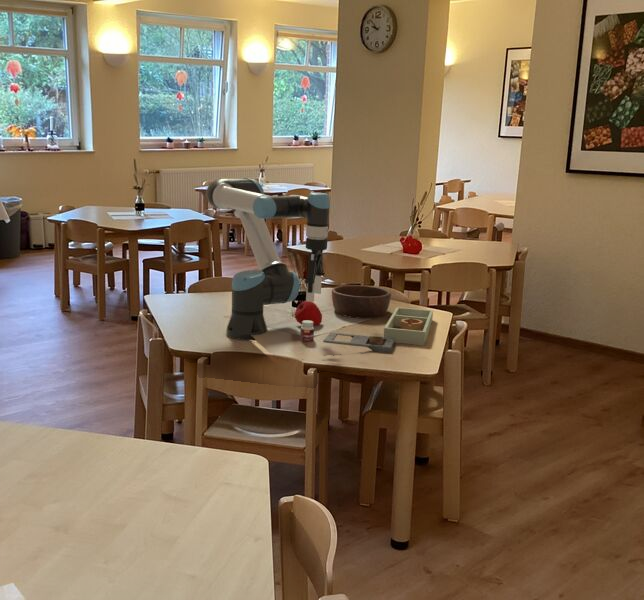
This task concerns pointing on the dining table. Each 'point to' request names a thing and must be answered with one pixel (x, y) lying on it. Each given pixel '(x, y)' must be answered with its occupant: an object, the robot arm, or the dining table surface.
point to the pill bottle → (307, 331)
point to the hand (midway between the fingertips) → (313, 297)
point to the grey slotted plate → (363, 342)
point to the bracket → (411, 324)
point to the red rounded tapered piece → (308, 313)
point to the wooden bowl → (360, 301)
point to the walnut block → (376, 339)
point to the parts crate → (408, 335)
